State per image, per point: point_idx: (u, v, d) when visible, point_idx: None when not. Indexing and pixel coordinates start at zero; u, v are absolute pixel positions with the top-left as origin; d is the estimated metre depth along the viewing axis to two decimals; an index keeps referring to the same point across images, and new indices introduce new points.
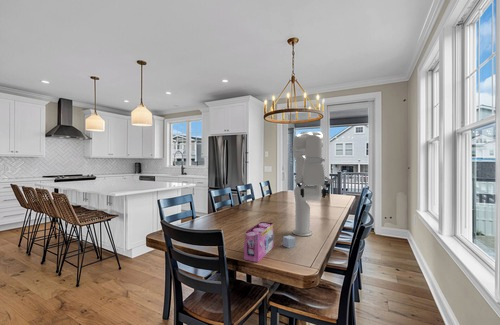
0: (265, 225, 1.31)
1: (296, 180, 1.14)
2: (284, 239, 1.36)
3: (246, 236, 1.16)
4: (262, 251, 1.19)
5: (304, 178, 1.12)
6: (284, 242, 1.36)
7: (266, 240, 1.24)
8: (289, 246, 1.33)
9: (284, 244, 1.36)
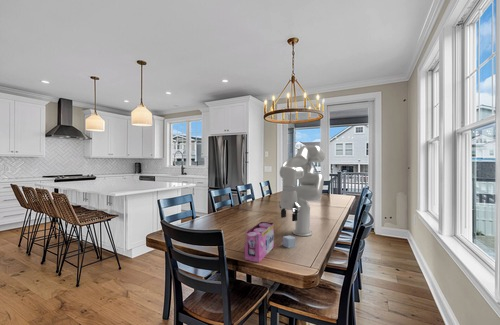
0: (266, 225, 1.31)
1: None
2: (284, 239, 1.36)
3: (247, 236, 1.16)
4: (263, 251, 1.19)
5: None
6: (284, 242, 1.36)
7: (267, 240, 1.24)
8: (289, 246, 1.33)
9: (284, 244, 1.36)
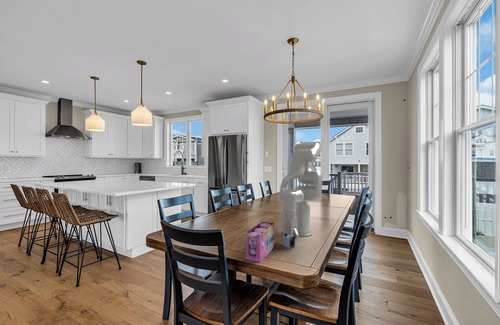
0: (266, 225, 1.31)
1: None
2: (284, 239, 1.36)
3: (248, 236, 1.16)
4: (264, 251, 1.19)
5: None
6: (284, 242, 1.36)
7: (268, 240, 1.24)
8: (289, 246, 1.33)
9: (284, 244, 1.36)
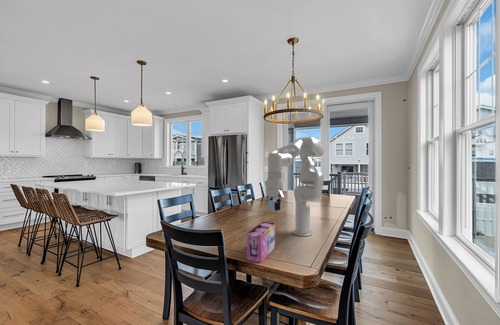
0: (267, 225, 1.31)
1: None
2: (269, 203, 1.30)
3: (249, 236, 1.16)
4: (265, 251, 1.19)
5: None
6: (269, 206, 1.30)
7: (268, 240, 1.24)
8: (274, 209, 1.27)
9: (269, 208, 1.30)
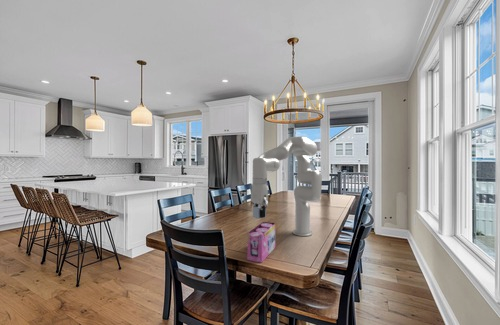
0: (267, 225, 1.31)
1: None
2: (254, 209, 1.25)
3: (249, 236, 1.16)
4: (265, 251, 1.19)
5: None
6: (254, 213, 1.25)
7: (269, 240, 1.24)
8: (259, 216, 1.22)
9: (254, 215, 1.25)
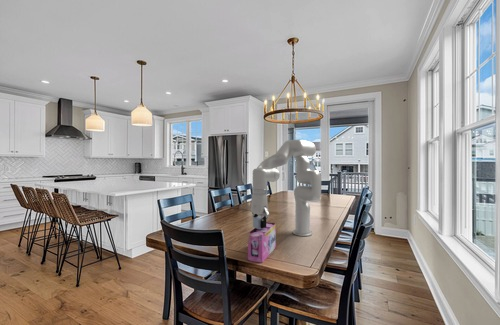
0: (268, 225, 1.31)
1: None
2: (254, 220, 1.25)
3: (250, 237, 1.15)
4: (266, 251, 1.18)
5: None
6: (254, 223, 1.25)
7: (269, 240, 1.24)
8: (259, 227, 1.22)
9: (254, 225, 1.25)
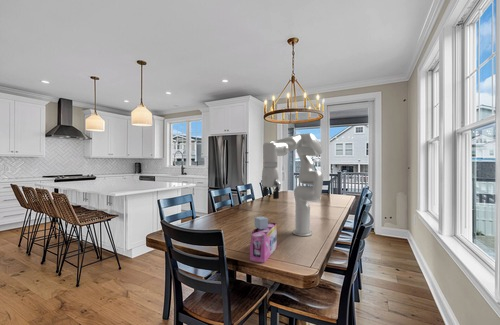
0: (269, 225, 1.31)
1: None
2: (256, 220, 1.25)
3: (252, 237, 1.15)
4: (268, 251, 1.18)
5: None
6: (256, 223, 1.25)
7: (271, 240, 1.24)
8: (261, 227, 1.22)
9: (256, 225, 1.25)
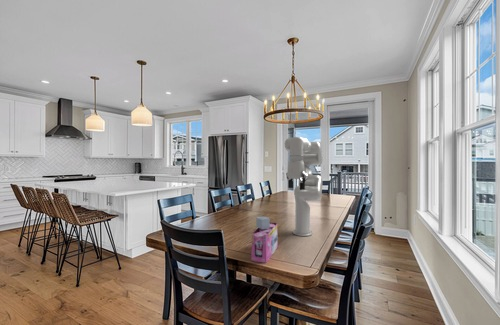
0: (270, 225, 1.31)
1: None
2: (257, 220, 1.25)
3: (254, 237, 1.15)
4: (269, 252, 1.18)
5: None
6: (257, 223, 1.25)
7: (272, 240, 1.24)
8: (262, 227, 1.22)
9: (257, 225, 1.25)
